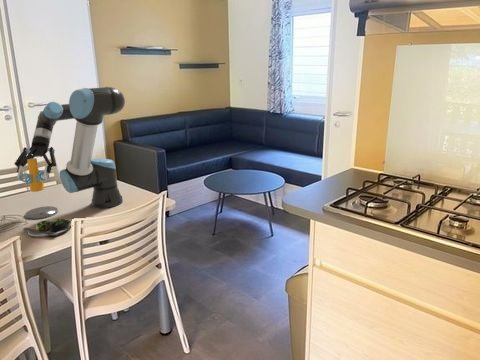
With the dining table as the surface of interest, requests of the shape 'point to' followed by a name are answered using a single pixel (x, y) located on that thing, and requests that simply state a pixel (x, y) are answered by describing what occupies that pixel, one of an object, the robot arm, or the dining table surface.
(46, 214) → the base plate
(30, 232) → the salad plate
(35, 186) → the cylinder
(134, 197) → the dining table surface
